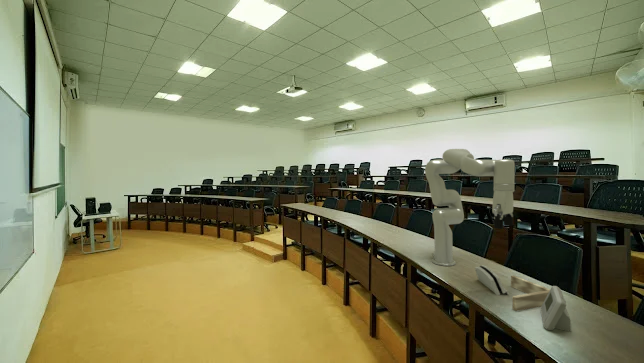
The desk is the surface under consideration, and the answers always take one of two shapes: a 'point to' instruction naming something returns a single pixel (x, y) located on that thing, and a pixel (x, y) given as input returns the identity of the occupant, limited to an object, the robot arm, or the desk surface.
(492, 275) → the white pencil case
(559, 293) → the digital clock
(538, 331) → the desk surface
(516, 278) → the wooden corner wall
